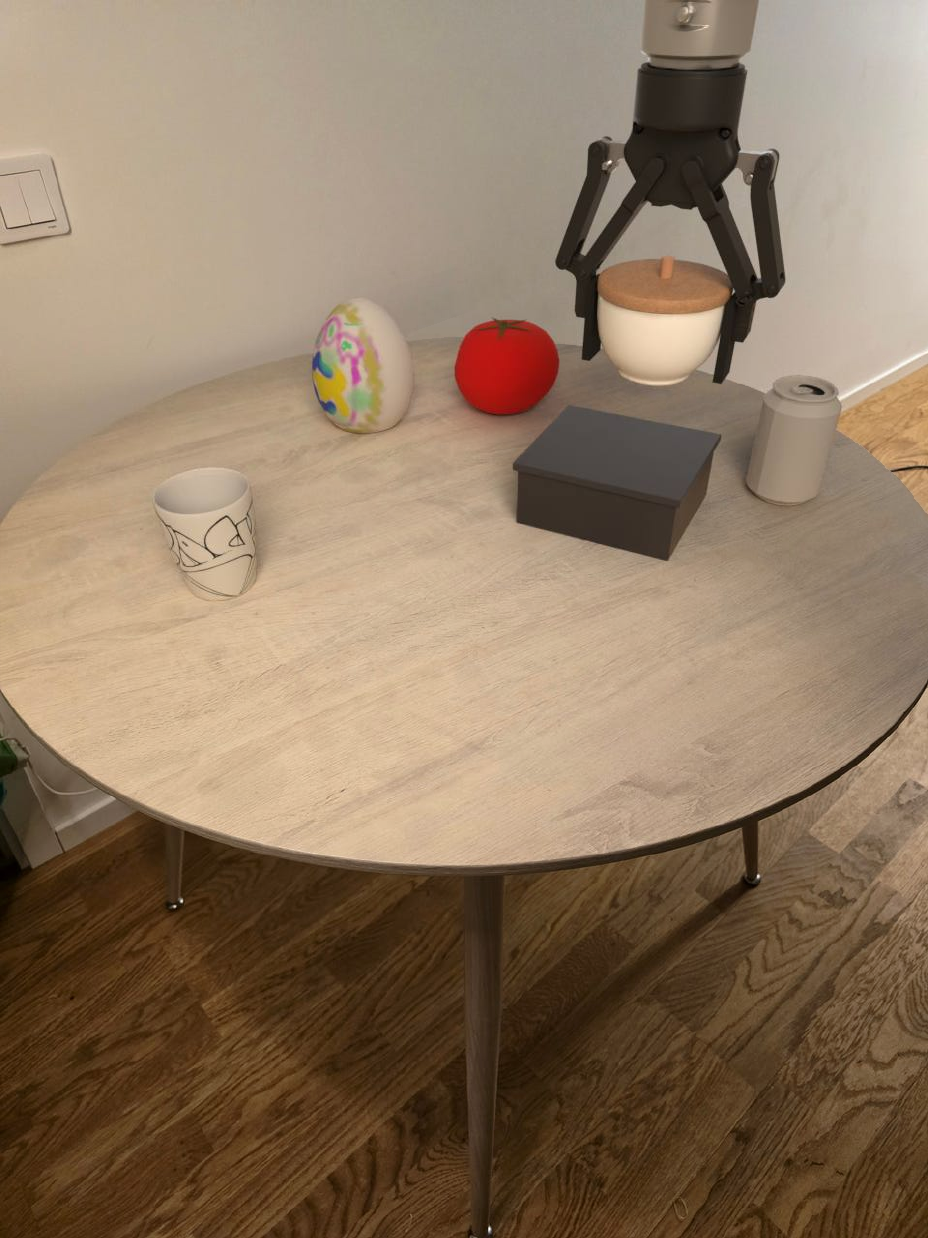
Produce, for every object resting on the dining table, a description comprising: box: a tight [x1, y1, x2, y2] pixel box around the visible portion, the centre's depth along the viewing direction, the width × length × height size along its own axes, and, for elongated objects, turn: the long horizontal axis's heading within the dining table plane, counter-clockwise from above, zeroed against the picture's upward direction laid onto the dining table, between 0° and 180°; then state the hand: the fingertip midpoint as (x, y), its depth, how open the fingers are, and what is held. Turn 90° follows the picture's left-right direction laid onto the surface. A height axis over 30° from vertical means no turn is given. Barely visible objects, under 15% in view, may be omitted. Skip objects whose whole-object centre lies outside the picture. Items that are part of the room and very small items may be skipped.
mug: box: [151, 466, 258, 602], centre depth 80 cm, size 11×8×10 cm
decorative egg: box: [311, 296, 415, 435], centre depth 104 cm, size 12×12×15 cm
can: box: [746, 374, 843, 507], centre depth 89 cm, size 8×8×12 cm
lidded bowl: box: [597, 254, 734, 386], centre depth 71 cm, size 11×11×9 cm
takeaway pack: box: [512, 404, 722, 562], centre depth 89 cm, size 17×15×7 cm
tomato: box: [454, 317, 560, 415], centre depth 108 cm, size 12×13×11 cm
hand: (654, 365), depth 74 cm, fingers closed on lidded bowl, 11 cm apart
